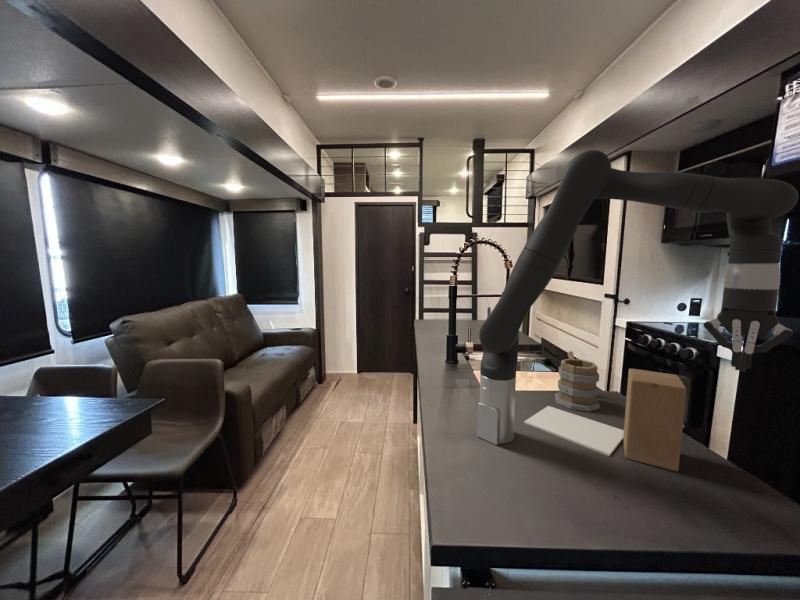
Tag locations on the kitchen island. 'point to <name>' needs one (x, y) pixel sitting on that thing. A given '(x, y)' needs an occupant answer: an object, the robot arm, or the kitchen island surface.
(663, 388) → the wooden block
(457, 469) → the kitchen island surface
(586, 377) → the tankard
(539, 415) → the mat
